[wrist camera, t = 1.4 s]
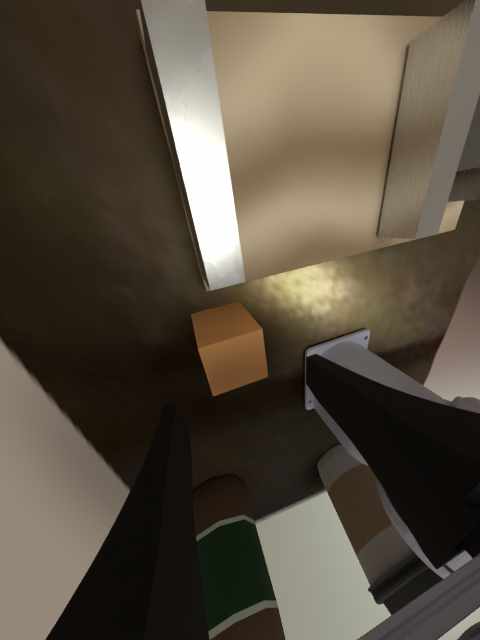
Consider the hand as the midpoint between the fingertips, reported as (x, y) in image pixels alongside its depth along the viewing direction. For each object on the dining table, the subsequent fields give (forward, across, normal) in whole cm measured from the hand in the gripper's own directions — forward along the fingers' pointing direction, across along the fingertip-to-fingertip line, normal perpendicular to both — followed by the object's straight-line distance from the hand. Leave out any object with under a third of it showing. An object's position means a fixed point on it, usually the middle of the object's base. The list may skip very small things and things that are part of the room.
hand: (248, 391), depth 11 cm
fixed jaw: (+6, -1, -10) cm, 12 cm away
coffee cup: (+7, -14, +31) cm, 35 cm away
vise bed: (+7, -10, -10) cm, 16 cm away
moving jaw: (+6, -18, -10) cm, 21 cm away
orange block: (+7, 0, 0) cm, 7 cm away
